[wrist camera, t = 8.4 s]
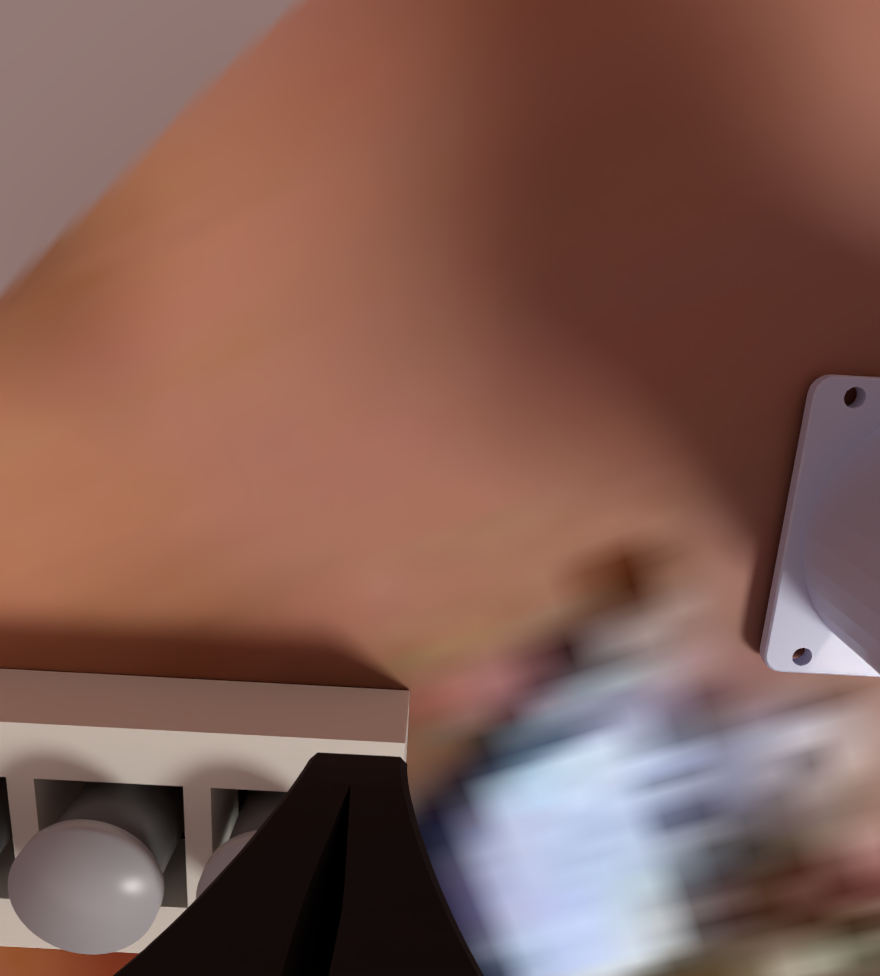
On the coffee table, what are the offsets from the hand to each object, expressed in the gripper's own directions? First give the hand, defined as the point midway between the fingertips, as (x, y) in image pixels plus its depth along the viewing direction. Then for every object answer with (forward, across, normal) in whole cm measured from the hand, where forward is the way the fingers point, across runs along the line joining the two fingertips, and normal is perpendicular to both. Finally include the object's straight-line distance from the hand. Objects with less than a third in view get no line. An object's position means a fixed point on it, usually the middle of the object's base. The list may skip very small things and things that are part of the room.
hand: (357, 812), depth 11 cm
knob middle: (+9, +7, +7) cm, 13 cm away
